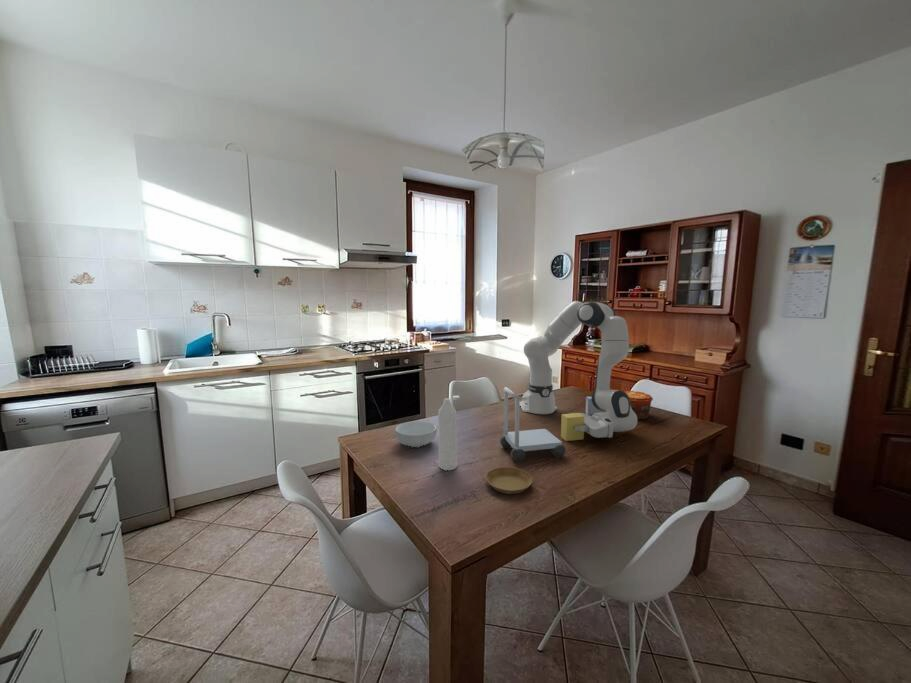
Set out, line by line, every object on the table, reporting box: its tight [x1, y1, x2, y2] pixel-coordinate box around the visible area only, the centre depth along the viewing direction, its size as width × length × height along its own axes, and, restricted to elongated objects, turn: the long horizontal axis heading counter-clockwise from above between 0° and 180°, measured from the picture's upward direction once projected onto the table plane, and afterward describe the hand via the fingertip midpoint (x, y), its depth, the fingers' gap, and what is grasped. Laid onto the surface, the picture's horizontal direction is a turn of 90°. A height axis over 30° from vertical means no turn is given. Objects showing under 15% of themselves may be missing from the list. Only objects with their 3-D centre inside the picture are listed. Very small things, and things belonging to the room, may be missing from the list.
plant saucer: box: [485, 466, 533, 495], centre depth 117 cm, size 15×15×3 cm
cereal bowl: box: [395, 420, 438, 448], centre depth 149 cm, size 17×17×7 cm
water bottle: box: [437, 395, 461, 471], centre depth 129 cm, size 9×6×25 cm
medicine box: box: [585, 396, 605, 416], centre depth 183 cm, size 8×4×9 cm, turn 84°
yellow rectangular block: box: [560, 412, 585, 442], centre depth 152 cm, size 4×8×10 cm, turn 102°
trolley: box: [499, 386, 566, 463], centre depth 139 cm, size 14×21×25 cm, turn 102°
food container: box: [624, 390, 654, 420], centre depth 181 cm, size 16×16×11 cm
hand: (570, 425), depth 152 cm, fingers closed on yellow rectangular block, 4 cm apart
